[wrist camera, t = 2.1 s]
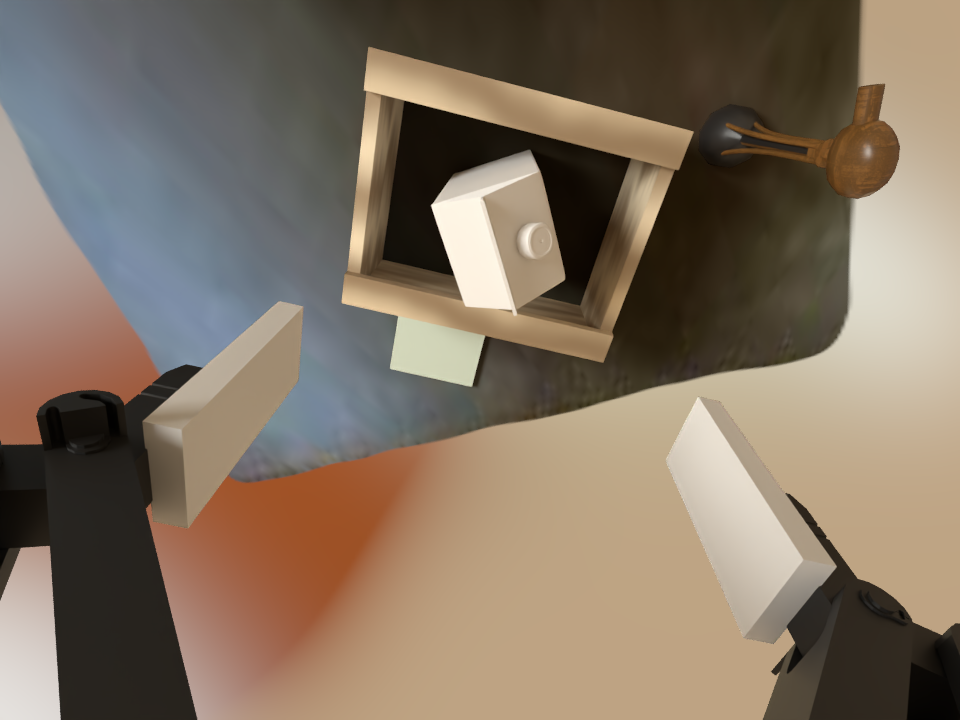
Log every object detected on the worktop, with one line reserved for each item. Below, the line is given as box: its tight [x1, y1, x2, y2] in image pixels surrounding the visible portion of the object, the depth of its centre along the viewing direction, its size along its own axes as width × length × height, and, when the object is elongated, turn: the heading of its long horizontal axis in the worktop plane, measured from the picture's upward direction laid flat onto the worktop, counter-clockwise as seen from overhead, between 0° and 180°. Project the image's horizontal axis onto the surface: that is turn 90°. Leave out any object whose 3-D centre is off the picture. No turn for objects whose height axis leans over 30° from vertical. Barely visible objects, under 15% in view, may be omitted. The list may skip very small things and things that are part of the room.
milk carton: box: [431, 150, 565, 316], centre depth 37 cm, size 7×7×19 cm
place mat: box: [390, 316, 485, 387], centre depth 52 cm, size 9×9×1 cm
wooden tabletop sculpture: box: [699, 84, 900, 199], centre depth 33 cm, size 6×5×20 cm
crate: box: [342, 47, 693, 362], centre depth 41 cm, size 18×22×10 cm
